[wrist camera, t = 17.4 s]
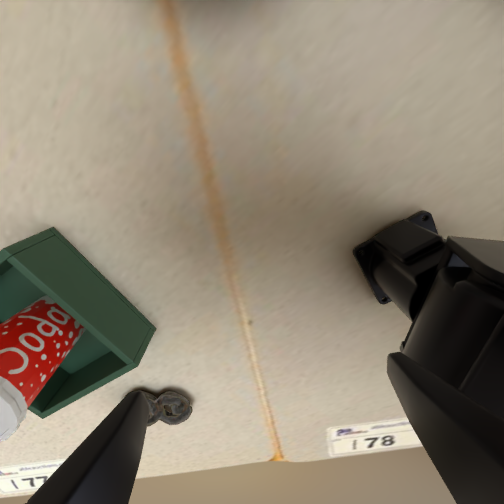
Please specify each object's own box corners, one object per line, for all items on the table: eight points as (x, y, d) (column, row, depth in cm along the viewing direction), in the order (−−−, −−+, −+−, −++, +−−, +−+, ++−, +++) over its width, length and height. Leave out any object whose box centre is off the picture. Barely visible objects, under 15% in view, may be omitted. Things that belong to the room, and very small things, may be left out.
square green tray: (156, 328, 24) (138, 366, 20) (74, 376, 26) (42, 419, 22) (53, 226, 20) (3, 248, 16) (-35, 293, 22) (-99, 327, 18)
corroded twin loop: (196, 415, 29) (195, 424, 28) (127, 418, 29) (123, 428, 28) (191, 385, 27) (189, 393, 26) (116, 388, 27) (111, 397, 26)
